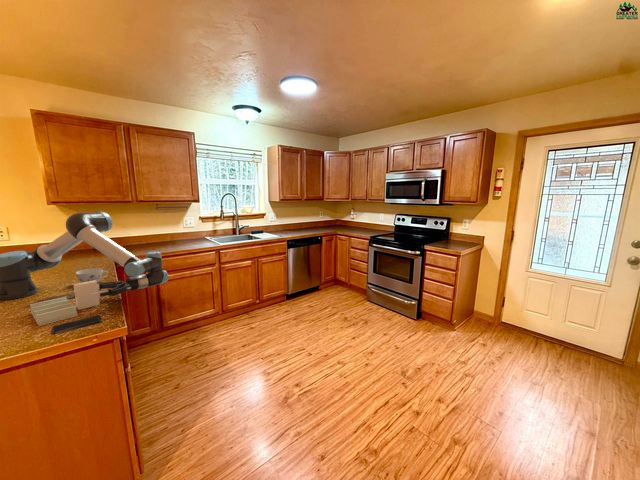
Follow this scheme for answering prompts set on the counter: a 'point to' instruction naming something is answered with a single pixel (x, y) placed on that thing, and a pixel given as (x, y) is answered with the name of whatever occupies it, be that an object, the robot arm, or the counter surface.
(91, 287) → the beige rectangular block
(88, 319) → the phone
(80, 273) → the teacup
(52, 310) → the slotted rack base
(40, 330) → the counter surface
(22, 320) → the counter surface
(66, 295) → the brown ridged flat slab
